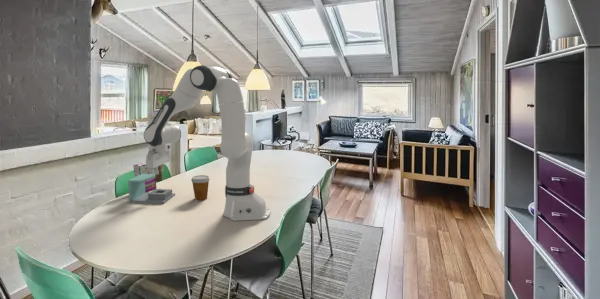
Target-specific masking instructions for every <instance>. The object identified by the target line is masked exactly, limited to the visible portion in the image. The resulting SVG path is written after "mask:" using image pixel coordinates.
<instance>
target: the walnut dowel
mask: <svg viewBox="0 0 600 299" xmlns="http://www.w3.org/2000/svg"><path fill="white" fill-rule="evenodd" d="M158 171H159V174H158V175H155V176H156V183H157V182H159V183H160V182H162V181H163V172H162V165H160V166H158Z"/></svg>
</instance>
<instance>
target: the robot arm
mask: <svg viewBox="0 0 600 299" xmlns="http://www.w3.org/2000/svg"><path fill="white" fill-rule="evenodd" d="M177 84H178V85H177V86H176V88H175V90H174V91H173V92H172V94H171V95H170V96H169V97H168V98H167V99H166V100H164V102H163V103H162V105H161V106H160V107H159V109H158V111H157V113H156V114H155V116H153V117H150V118H149V119H148V121H147V126H146V128H145V130H144V132H143V140H144V142H146V144H147V145H148V147H147V148H148V153H147V154H146V156H145V162H146V168H147V169H153V170H154V174H155V175H158V174H159V171H158V166H160V165H162V173H163V172H164V165H165V164H166V163H168V162H170V159H171V158H170V157H171V156H170V155H171V152H170V149H171V145H170V144H174V143H178V142H179V141H180V139H181V137H182V132H181V131H182V130H181V129H180V127H179V126H178V125H177V124H174V123H171V122H169V121H170V119H171V118H172V117H173V116H174V115H176V114H177V113H180V112H183V111H187V110H190V109H192V108H194V106H196V104H197V103H198V101H199V99H200V97H201V95H202V93H203V91H205V92H214V93H215V94H216V95H217V100H218V101H217V102H218V109H219V113H220V114H219V115H220V121H221V122H220V123H221V132H220V134H221V136H220V137H221V139H220V140H221V142H220V144H219V148H220V149H219V150H220V152H221V155H222V156H223V157H225V158H226V159H227V165H226V168H225V187H224V195H225V204H224V209H223V213H222V214H223V215H222V216H224V217H225V218H227V219H230V220H231V221H234V222H235V221H236V222H238V221H256V220H257V221H258V220H267V219H268V218H269V217H270V215H271V214H272V213H271V212H272V211H271V208H269V207H267V204H266V201H265V199H264V198H263V197H261V196H260V195H259V194H257V193H256V192H255V185H253V184H251V163H252V162H251V161H252V153H253V144H254V139H253V137H252V135H250V134H249V133H248V132H246V119H247V118H246V111H245V104H244V99H243V98H244V97H243V94H242V90H241V87H240V84H239V82H238V81H237V80H236V79H234V78H233V76H232V74H231V72H230V71H229V70H228V69H226V68H224V67H222V66H215V65H203V64H201V65H197V66H195V67H193V68H188V69H186V71H185V72H184V74H183V75H182V77H181V78H180V80H179V82H178V83H177Z"/></svg>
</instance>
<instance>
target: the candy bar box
mask: <svg viewBox="0 0 600 299" xmlns="http://www.w3.org/2000/svg"><path fill="white" fill-rule="evenodd" d="M141 174H154V170H153V169H147V168H146V161H145V162H140V163H138V164H133V176H134V177H136V176H139V175H141ZM134 177H133V178H134ZM155 189H157V181H156V176H155V177H153V178H152V179H150V180H148V181H146V182H145V193H149V192H152V191H154V190H155Z"/></svg>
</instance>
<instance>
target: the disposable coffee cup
mask: <svg viewBox="0 0 600 299" xmlns="http://www.w3.org/2000/svg"><path fill="white" fill-rule="evenodd" d="M210 179H211V178H209V176H208V175H204V174H200V175H199V174H198V175H195V176H194V175H193V176H192V178H191V182H192V188H193V194H194V200H197V201H204V200H206V199H208V192H209V191H208V190H209V185H210V184H209V183H210V181H211V180H210Z"/></svg>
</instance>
